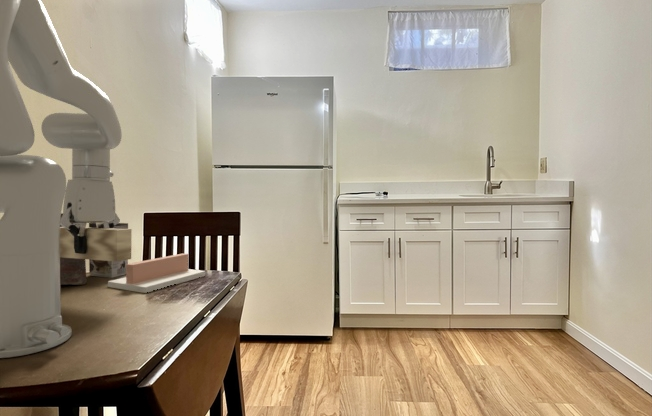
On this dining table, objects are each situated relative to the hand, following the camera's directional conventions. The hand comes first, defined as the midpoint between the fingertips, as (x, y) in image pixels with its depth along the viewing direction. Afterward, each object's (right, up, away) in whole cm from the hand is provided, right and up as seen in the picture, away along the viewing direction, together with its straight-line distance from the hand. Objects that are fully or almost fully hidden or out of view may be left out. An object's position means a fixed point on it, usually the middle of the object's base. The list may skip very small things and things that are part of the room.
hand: (91, 251), depth 88 cm
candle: (-15, -11, +14) cm, 23 cm away
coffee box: (-11, -11, +26) cm, 31 cm away
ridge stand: (+8, -11, +20) cm, 24 cm away
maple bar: (0, -2, 0) cm, 2 cm away
